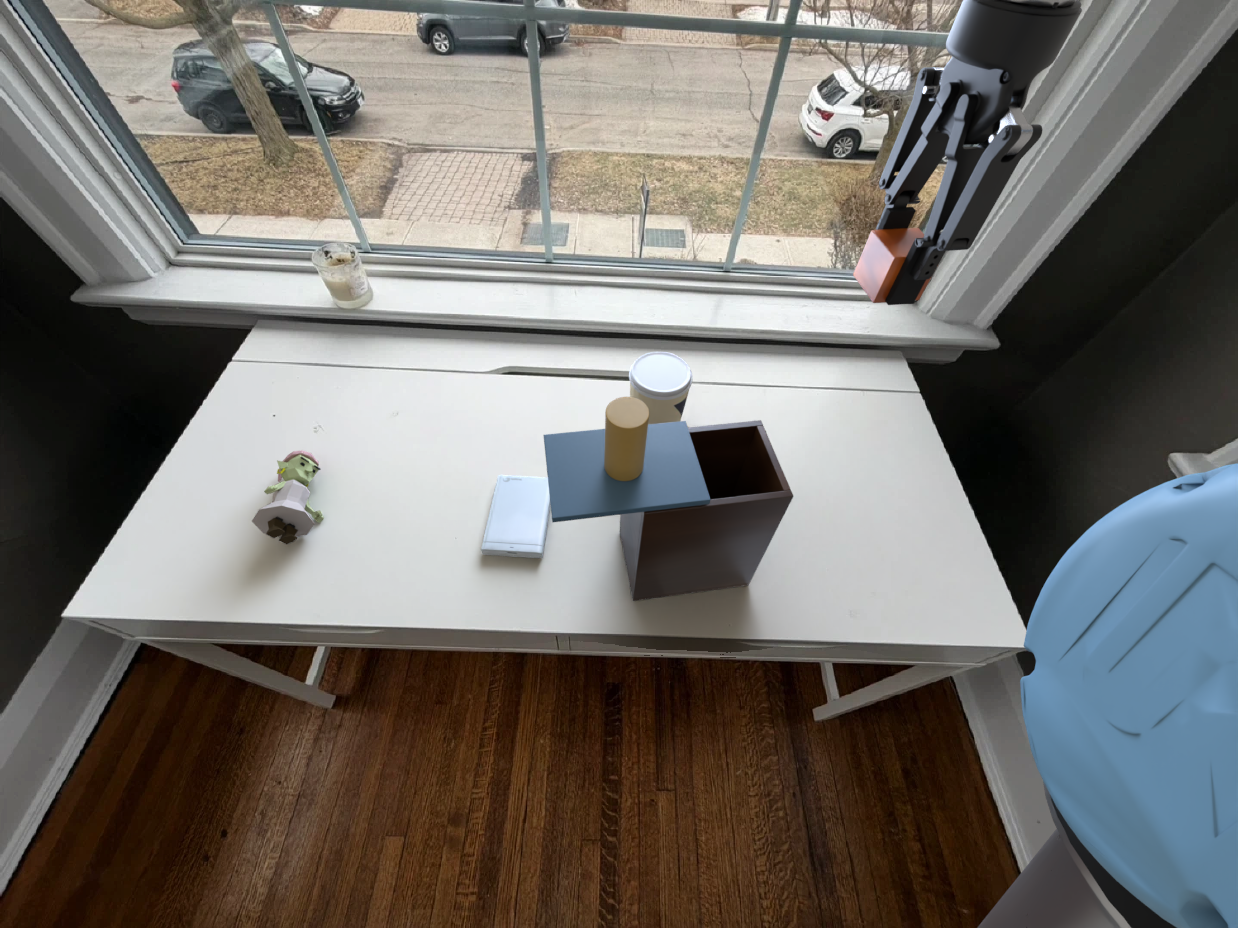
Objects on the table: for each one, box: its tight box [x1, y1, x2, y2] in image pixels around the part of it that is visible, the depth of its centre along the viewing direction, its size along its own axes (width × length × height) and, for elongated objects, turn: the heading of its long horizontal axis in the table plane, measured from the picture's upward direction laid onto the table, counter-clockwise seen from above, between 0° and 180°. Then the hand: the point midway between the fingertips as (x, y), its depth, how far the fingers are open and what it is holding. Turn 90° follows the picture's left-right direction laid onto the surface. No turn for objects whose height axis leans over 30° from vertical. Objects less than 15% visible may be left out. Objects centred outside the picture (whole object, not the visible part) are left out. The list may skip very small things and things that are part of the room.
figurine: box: [251, 449, 325, 545], centre depth 75 cm, size 9×7×15 cm
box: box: [619, 419, 794, 602], centre depth 66 cm, size 11×16×21 cm
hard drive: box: [480, 474, 551, 559], centre depth 77 cm, size 2×8×12 cm
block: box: [852, 227, 939, 304], centre depth 54 cm, size 5×5×5 cm
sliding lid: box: [543, 396, 711, 523], centre depth 53 cm, size 11×16×9 cm
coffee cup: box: [628, 351, 693, 424], centre depth 84 cm, size 9×9×12 cm
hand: (886, 285), depth 56 cm, fingers closed on block, 5 cm apart
